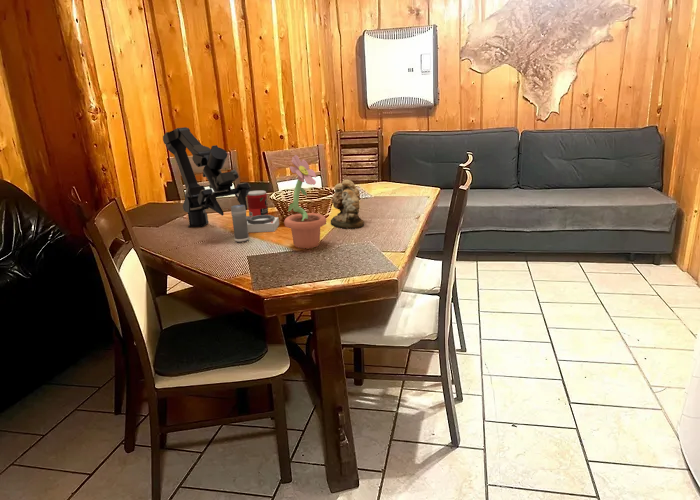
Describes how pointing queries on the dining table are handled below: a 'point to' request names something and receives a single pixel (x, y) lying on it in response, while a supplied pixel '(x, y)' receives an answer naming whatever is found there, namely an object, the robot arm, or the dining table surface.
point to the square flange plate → (262, 223)
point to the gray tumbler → (239, 223)
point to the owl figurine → (346, 206)
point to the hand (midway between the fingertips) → (234, 212)
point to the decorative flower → (304, 223)
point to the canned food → (257, 203)
